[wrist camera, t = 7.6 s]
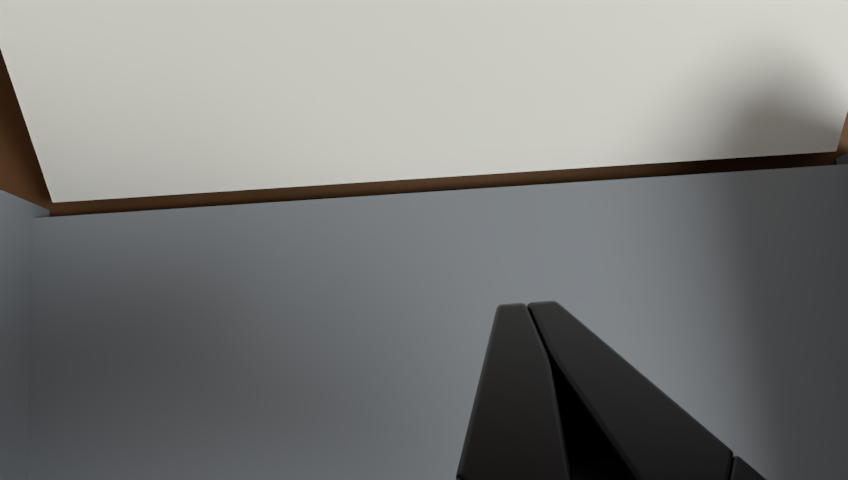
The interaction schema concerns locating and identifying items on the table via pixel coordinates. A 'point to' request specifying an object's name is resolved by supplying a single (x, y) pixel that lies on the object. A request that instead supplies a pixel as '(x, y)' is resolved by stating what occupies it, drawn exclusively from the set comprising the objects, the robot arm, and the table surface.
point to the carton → (414, 323)
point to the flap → (412, 88)
